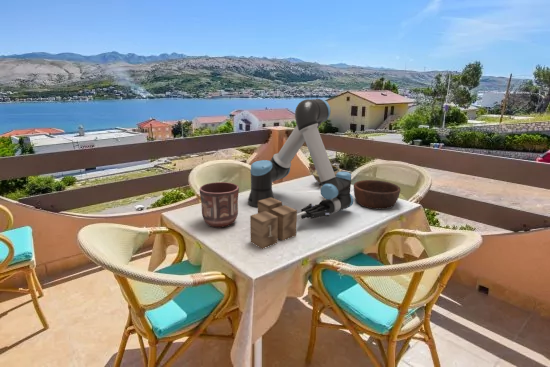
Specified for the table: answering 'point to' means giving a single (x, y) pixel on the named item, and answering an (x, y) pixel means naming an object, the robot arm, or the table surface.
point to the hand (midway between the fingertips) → (294, 217)
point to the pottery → (219, 203)
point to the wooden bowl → (376, 194)
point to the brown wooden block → (285, 221)
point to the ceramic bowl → (333, 170)
